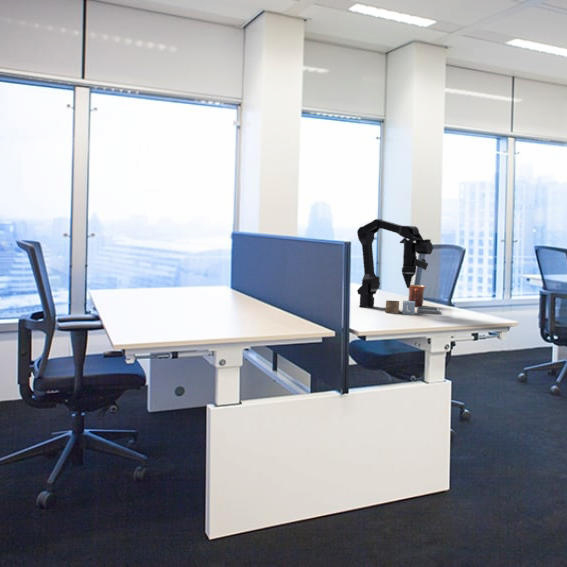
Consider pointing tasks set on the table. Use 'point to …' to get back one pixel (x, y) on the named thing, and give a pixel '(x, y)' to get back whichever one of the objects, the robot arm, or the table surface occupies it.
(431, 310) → the tray
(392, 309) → the open wooden cubby box
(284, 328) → the table surface
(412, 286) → the mug
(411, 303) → the blue-gray cube
